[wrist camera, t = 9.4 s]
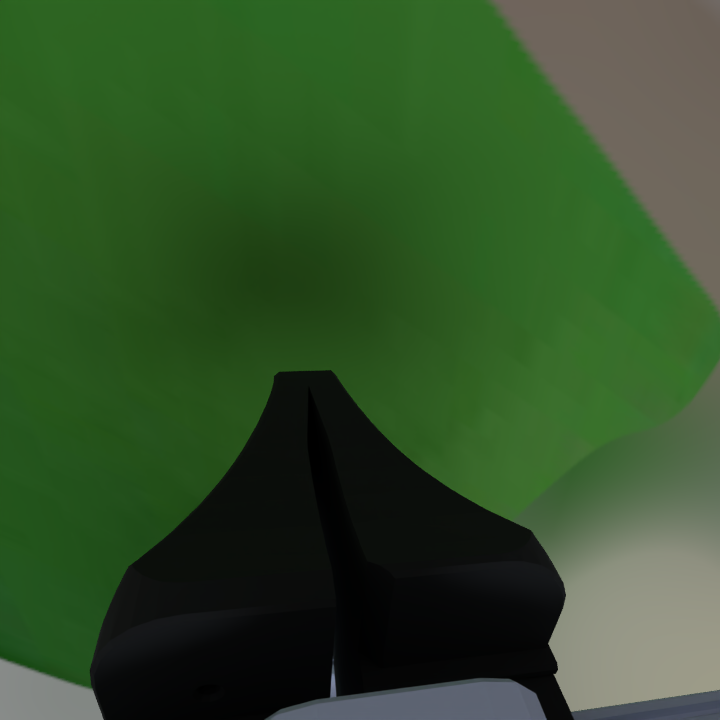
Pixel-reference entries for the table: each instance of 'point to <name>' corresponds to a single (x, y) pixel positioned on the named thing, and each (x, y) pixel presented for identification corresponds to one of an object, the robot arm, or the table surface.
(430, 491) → the robot arm
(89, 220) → the table surface
